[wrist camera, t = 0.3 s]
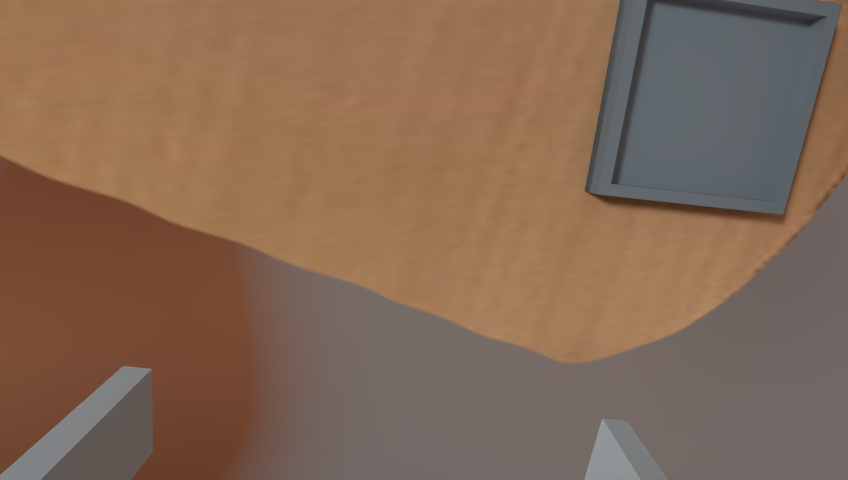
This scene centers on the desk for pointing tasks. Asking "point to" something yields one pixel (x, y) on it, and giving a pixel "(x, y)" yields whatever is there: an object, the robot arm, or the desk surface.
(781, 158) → the grey tray
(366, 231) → the desk surface
